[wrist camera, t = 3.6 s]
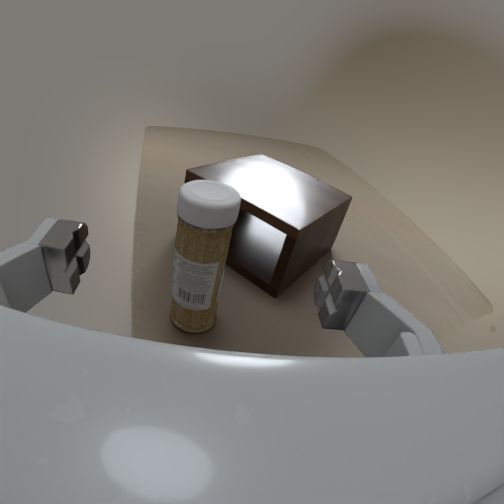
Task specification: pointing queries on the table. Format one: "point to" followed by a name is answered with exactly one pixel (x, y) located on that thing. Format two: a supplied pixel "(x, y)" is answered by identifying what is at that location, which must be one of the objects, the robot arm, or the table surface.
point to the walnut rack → (277, 218)
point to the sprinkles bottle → (201, 251)
